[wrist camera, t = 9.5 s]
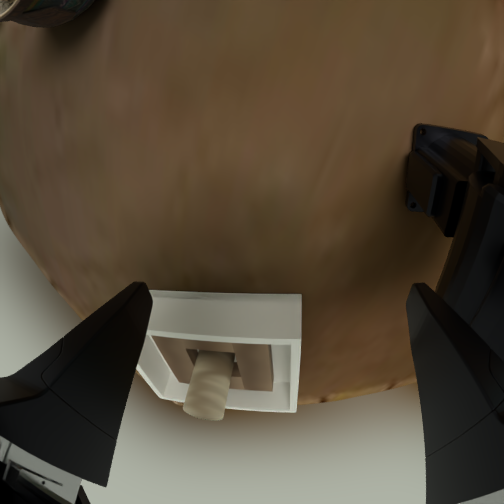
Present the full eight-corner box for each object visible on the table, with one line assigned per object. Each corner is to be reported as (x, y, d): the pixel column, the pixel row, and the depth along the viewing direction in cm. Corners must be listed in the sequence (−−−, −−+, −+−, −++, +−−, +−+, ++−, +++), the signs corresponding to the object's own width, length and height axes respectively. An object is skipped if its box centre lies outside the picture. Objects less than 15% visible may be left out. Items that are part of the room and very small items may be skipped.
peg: (233, 339, 29) (218, 408, 23) (238, 359, 32) (226, 422, 25) (196, 337, 30) (177, 402, 24) (204, 357, 32) (189, 417, 26)
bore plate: (268, 316, 26) (266, 333, 25) (273, 377, 33) (272, 391, 32) (151, 310, 28) (145, 324, 27) (182, 369, 35) (179, 382, 34)
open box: (301, 293, 25) (301, 339, 21) (297, 378, 35) (296, 412, 31) (125, 288, 28) (105, 323, 24) (169, 368, 38) (159, 398, 34)
